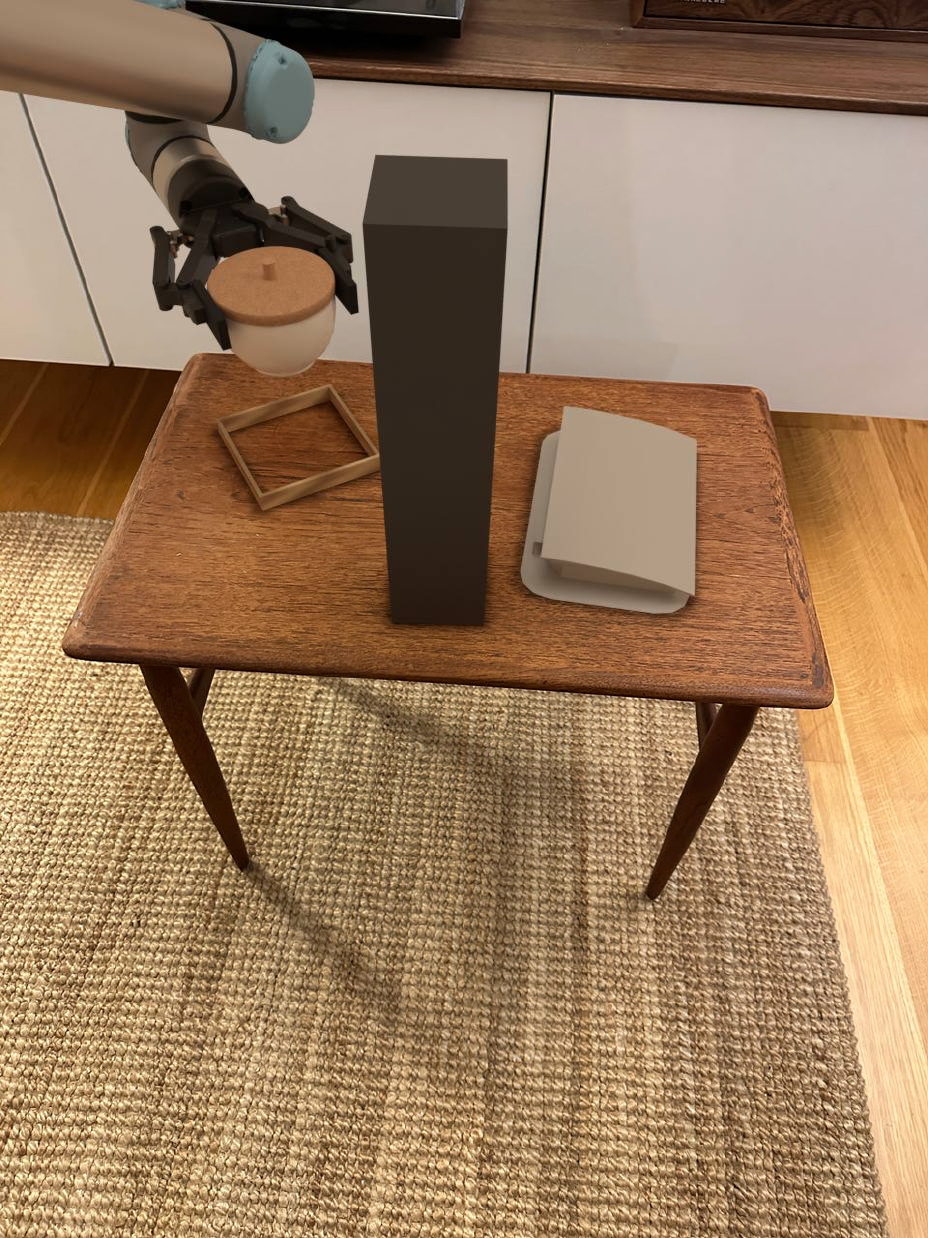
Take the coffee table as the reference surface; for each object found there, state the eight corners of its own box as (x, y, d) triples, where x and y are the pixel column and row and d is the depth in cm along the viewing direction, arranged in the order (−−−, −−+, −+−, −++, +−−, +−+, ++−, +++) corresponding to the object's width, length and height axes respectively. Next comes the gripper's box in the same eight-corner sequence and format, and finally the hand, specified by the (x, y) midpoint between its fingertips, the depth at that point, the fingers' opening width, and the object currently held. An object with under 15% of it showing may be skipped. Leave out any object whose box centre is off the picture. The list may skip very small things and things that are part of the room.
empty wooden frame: (262, 510, 86) (259, 497, 84) (219, 432, 93) (215, 419, 91) (382, 469, 90) (381, 455, 88) (332, 397, 96) (330, 383, 95)
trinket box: (349, 324, 85) (340, 230, 78) (334, 396, 79) (323, 300, 71) (236, 319, 85) (217, 224, 78) (212, 390, 79) (188, 294, 71)
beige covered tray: (516, 594, 80) (519, 565, 77) (545, 426, 94) (548, 396, 91) (690, 618, 79) (700, 590, 76) (693, 445, 93) (701, 414, 90)
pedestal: (391, 622, 78) (362, 223, 49) (398, 554, 83) (375, 154, 54) (484, 626, 78) (507, 227, 49) (485, 556, 83) (507, 158, 54)
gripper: (321, 209, 93) (416, 320, 81) (95, 263, 86) (164, 393, 74) (313, 133, 87) (414, 241, 75) (70, 184, 80) (140, 313, 68)
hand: (290, 317), depth 75 cm, fingers closed on trinket box, 11 cm apart
